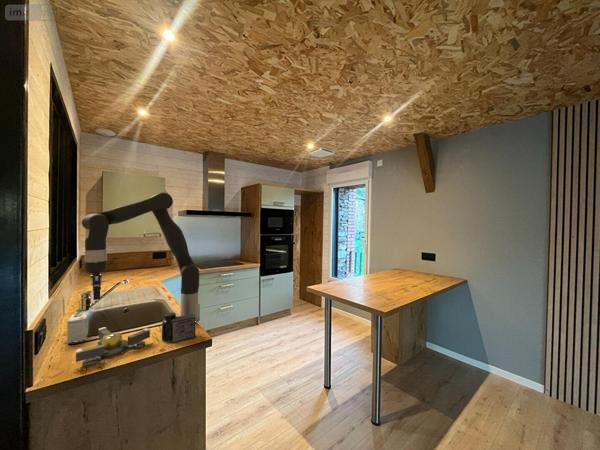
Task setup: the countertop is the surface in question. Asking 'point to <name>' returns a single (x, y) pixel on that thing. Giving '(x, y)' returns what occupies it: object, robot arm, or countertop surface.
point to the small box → (183, 328)
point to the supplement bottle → (167, 327)
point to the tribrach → (112, 347)
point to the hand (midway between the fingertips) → (96, 297)
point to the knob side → (103, 332)
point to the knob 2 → (139, 337)
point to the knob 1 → (89, 353)
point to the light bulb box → (77, 327)
